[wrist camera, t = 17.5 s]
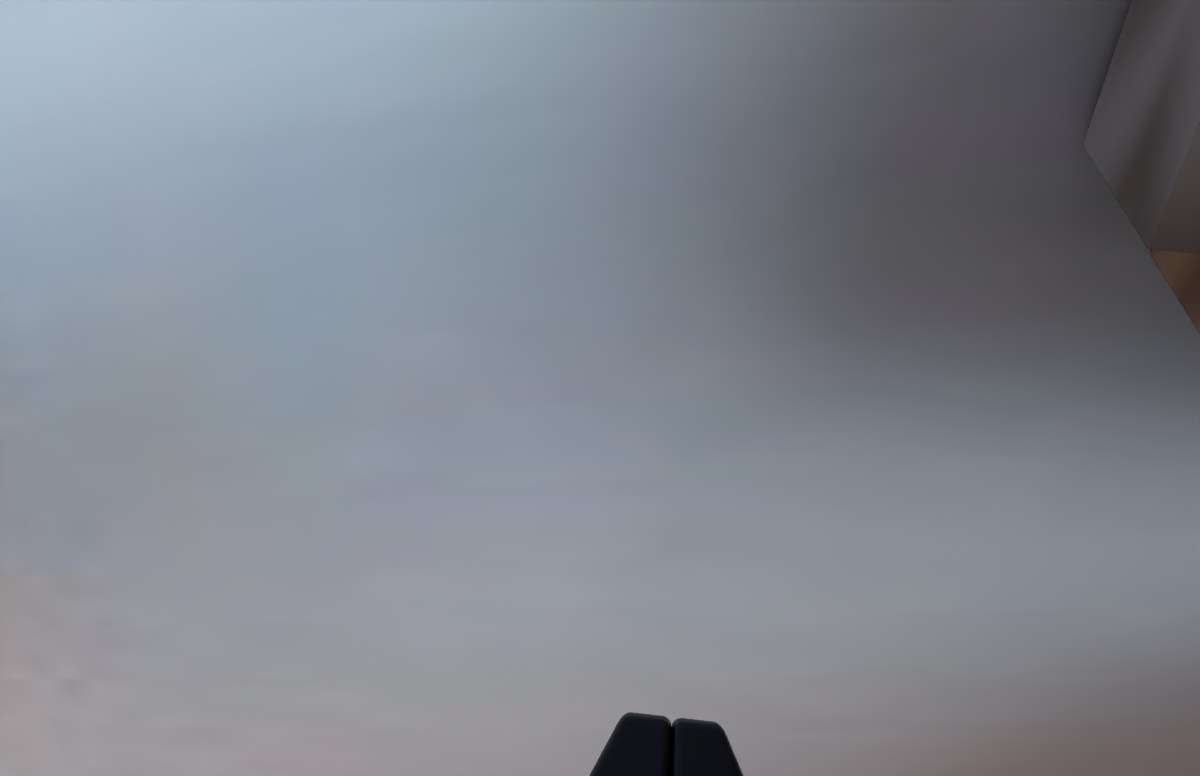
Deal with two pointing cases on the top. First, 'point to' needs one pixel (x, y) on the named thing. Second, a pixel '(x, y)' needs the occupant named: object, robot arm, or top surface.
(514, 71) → the top surface
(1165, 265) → the open wooden box
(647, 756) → the robot arm
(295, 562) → the top surface
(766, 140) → the top surface
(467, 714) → the top surface
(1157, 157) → the shelf board
